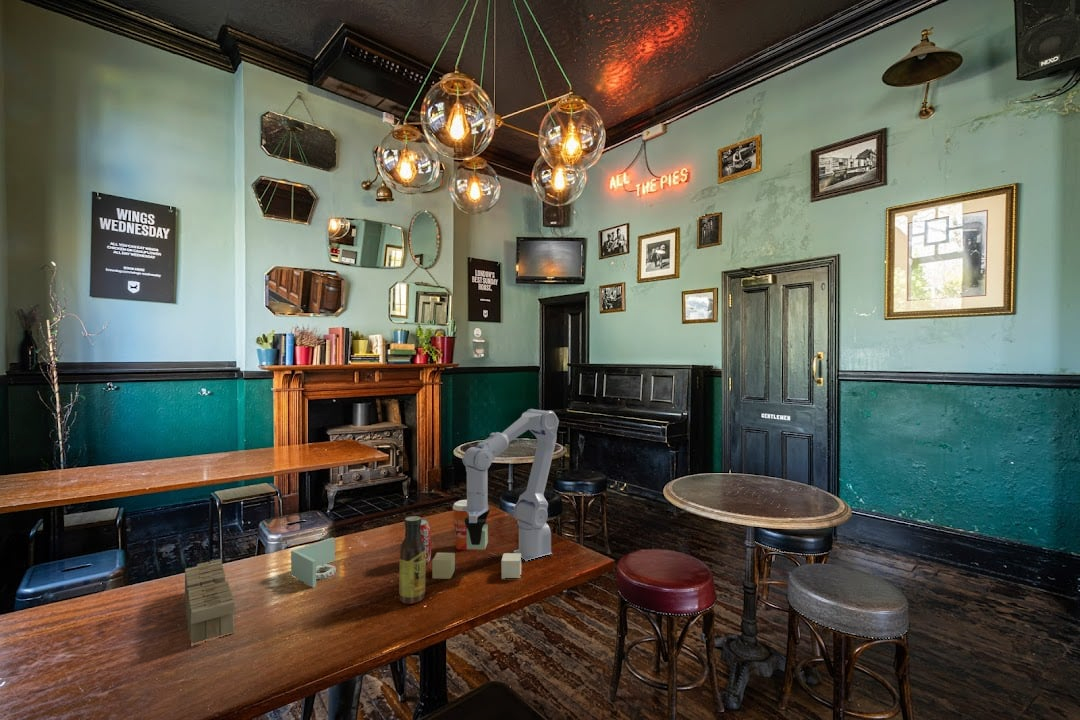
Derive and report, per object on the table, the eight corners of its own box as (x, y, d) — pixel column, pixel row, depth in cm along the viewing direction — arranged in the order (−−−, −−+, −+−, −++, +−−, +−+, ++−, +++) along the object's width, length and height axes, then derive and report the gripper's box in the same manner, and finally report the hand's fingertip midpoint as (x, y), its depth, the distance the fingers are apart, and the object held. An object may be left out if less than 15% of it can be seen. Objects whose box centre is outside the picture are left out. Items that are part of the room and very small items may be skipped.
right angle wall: (312, 590, 121) (312, 561, 121) (291, 577, 128) (291, 550, 128) (355, 573, 130) (355, 546, 130) (332, 562, 138) (332, 537, 138)
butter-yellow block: (454, 570, 131) (454, 552, 131) (450, 578, 126) (450, 560, 126) (437, 570, 131) (437, 552, 131) (432, 578, 126) (432, 560, 126)
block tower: (184, 600, 117) (189, 652, 94) (184, 566, 117) (189, 610, 95) (222, 590, 122) (235, 637, 99) (221, 558, 122) (234, 597, 100)
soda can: (434, 558, 139) (434, 518, 139) (426, 568, 132) (425, 526, 132) (411, 557, 140) (411, 517, 140) (402, 567, 133) (401, 525, 133)
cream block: (521, 571, 130) (521, 553, 130) (520, 579, 125) (519, 561, 125) (503, 571, 130) (503, 553, 130) (501, 579, 125) (501, 560, 125)
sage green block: (487, 542, 131) (487, 524, 131) (485, 549, 126) (485, 530, 126) (470, 542, 131) (470, 524, 131) (466, 549, 126) (466, 530, 126)
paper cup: (448, 550, 145) (448, 505, 145) (459, 541, 152) (459, 498, 152) (471, 553, 143) (470, 507, 143) (481, 543, 150) (481, 500, 150)
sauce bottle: (418, 606, 111) (417, 524, 111) (394, 604, 113) (394, 522, 113) (430, 593, 118) (429, 515, 118) (407, 591, 119) (407, 513, 119)
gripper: (467, 484, 136) (468, 530, 136) (457, 498, 121) (457, 550, 121) (491, 484, 135) (492, 530, 135) (484, 498, 121) (484, 551, 121)
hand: (477, 540), depth 128 cm, fingers closed on sage green block, 5 cm apart
